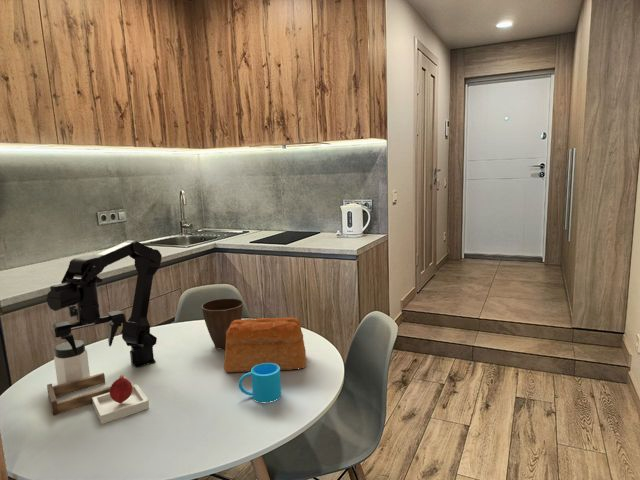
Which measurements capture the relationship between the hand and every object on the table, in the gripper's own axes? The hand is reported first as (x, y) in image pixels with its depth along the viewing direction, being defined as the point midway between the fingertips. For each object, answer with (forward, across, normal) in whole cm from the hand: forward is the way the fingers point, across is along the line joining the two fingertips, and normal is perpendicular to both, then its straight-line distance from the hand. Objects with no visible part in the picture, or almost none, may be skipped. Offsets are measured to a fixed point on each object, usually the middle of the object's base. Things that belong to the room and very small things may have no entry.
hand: (93, 350), depth 130 cm
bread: (+12, -48, +20) cm, 53 cm away
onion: (+11, -3, +17) cm, 20 cm away
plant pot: (+12, -44, -4) cm, 46 cm away
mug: (+12, -35, +37) cm, 53 cm away
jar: (+12, +5, -9) cm, 16 cm away
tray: (+12, -3, +17) cm, 21 cm away
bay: (+12, +5, +4) cm, 13 cm away
